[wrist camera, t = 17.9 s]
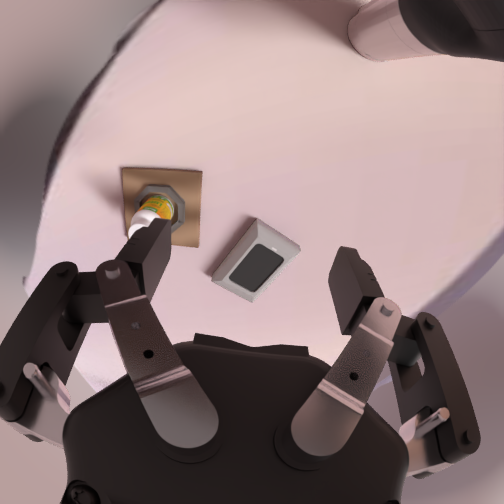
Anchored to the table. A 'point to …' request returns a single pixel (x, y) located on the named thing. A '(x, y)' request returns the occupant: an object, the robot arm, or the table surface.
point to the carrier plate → (176, 190)
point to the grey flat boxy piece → (255, 261)
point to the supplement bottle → (151, 212)
